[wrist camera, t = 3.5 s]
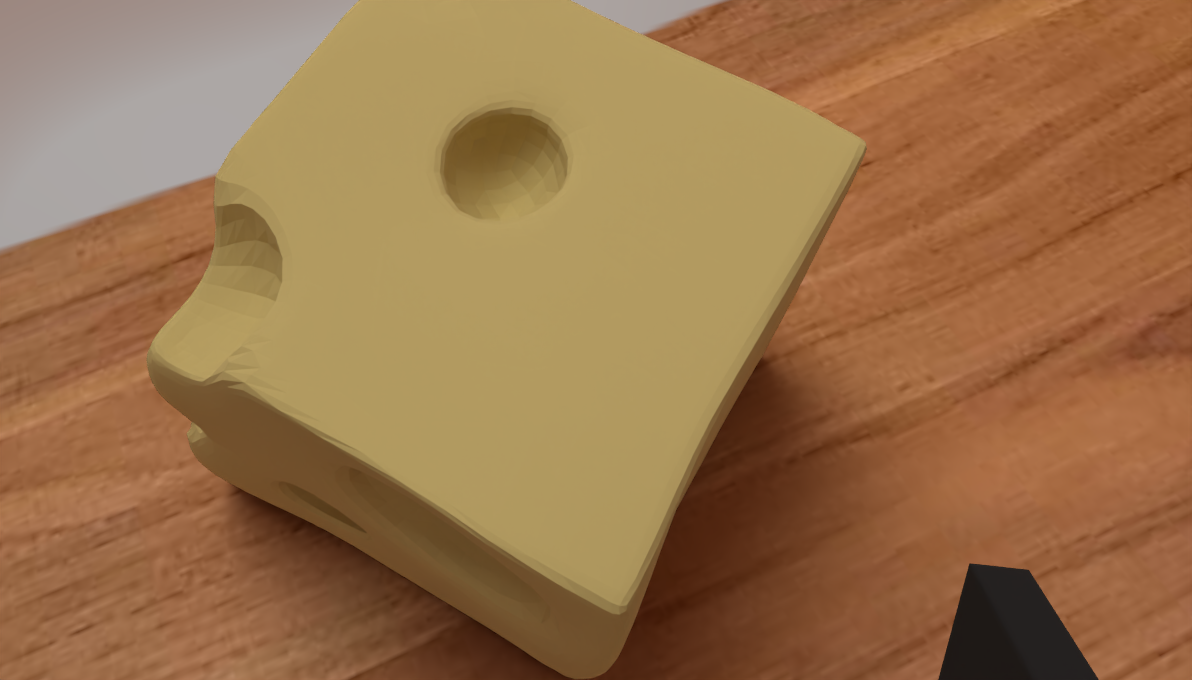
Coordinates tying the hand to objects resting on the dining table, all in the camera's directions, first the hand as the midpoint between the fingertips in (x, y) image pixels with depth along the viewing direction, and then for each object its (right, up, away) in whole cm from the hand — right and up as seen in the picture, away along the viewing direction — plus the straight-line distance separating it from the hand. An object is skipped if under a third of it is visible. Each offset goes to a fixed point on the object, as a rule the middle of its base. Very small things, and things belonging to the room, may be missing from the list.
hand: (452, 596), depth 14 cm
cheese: (0, +1, +14) cm, 14 cm away
